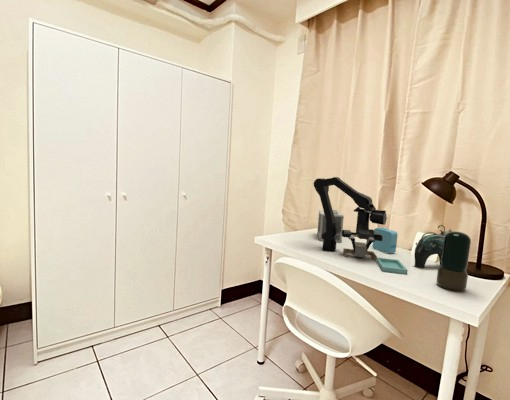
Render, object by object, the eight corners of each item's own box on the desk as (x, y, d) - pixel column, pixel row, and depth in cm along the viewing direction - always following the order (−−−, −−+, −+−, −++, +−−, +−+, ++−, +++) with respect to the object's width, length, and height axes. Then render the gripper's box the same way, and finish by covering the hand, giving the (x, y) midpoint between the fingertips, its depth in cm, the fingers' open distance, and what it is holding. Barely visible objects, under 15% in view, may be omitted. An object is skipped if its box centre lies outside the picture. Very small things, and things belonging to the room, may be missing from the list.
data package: (395, 253, 152) (398, 232, 151) (389, 254, 151) (392, 232, 149) (377, 247, 163) (380, 227, 162) (372, 248, 161) (374, 227, 160)
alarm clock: (316, 234, 188) (319, 207, 186) (337, 236, 187) (339, 208, 185) (319, 241, 170) (321, 211, 168) (341, 243, 169) (344, 213, 166)
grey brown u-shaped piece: (344, 256, 142) (344, 253, 142) (343, 251, 150) (343, 248, 150) (376, 260, 139) (376, 256, 138) (373, 255, 147) (373, 251, 147)
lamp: (455, 294, 104) (463, 235, 101) (430, 283, 112) (437, 229, 110) (471, 290, 108) (479, 234, 105) (446, 281, 116) (453, 228, 114)
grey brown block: (354, 255, 140) (355, 245, 139) (354, 251, 148) (355, 241, 148) (365, 257, 138) (366, 246, 138) (364, 252, 147) (365, 242, 146)
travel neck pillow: (445, 264, 139) (450, 224, 137) (457, 268, 133) (462, 227, 130) (410, 265, 135) (415, 223, 132) (421, 270, 128) (426, 226, 126)
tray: (382, 271, 124) (382, 267, 123) (375, 261, 137) (376, 257, 137) (407, 274, 122) (407, 270, 121) (398, 263, 135) (398, 259, 135)
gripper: (344, 222, 135) (342, 254, 137) (386, 226, 131) (383, 258, 133) (342, 218, 146) (340, 248, 148) (381, 222, 142) (378, 252, 144)
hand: (359, 251), depth 143 cm, fingers closed on grey brown block, 5 cm apart
